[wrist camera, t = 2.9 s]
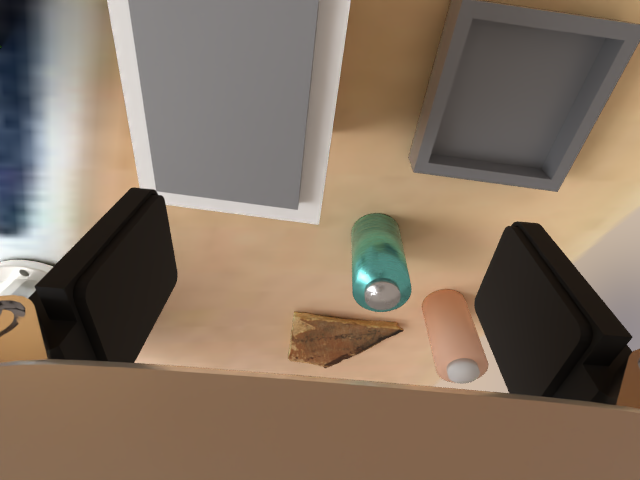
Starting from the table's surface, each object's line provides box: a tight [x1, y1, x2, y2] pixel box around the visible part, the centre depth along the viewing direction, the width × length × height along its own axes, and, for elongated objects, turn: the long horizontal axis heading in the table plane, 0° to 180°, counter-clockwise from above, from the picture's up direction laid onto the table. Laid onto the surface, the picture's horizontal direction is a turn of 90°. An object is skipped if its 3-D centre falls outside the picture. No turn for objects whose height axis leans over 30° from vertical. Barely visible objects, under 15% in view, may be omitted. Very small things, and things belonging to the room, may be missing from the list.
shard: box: [288, 312, 403, 368], centre depth 39 cm, size 11×8×2 cm
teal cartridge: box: [351, 213, 411, 312], centre depth 29 cm, size 4×4×8 cm
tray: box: [408, 0, 640, 192], centre depth 24 cm, size 10×10×2 cm
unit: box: [107, 0, 351, 225], centre depth 19 cm, size 11×8×13 cm
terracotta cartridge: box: [422, 289, 488, 383], centre depth 33 cm, size 4×4×8 cm
